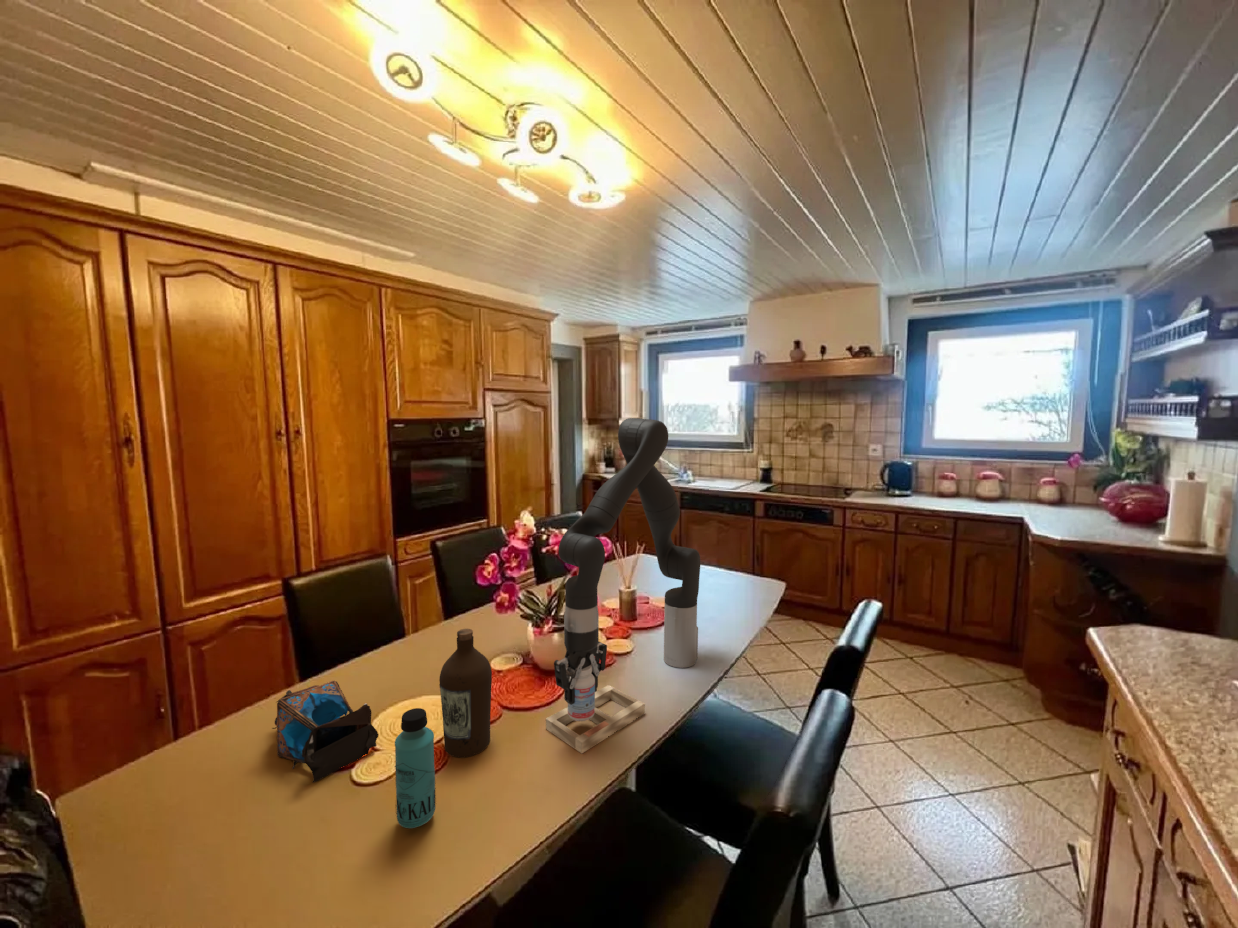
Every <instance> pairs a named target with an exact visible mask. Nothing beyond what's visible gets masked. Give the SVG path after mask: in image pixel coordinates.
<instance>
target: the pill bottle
mask: <svg viewBox="0 0 1238 928" xmlns="http://www.w3.org/2000/svg"><path fill="white" fill-rule="evenodd" d="M571 671H572V672H573V673H575V670H573V669H571ZM591 673H592V666H591V665H590V666H588V667H586V668H584V669H581V672H580V675H579V678H577V679H576V682H575V685H574V688H575V703H574V704H572V705H571V704H569V703H567V707H568V715H569V717H570V718H571V719H573V720H574V721H576V722H585V721H586V722H587V721H590V720H589V719H591V718H592V717H593V716H594V713H595V678H594V676H593V675H592V674H591ZM570 680H571V676H570V679H569V681H570Z"/></svg>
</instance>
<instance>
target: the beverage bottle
mask: <svg viewBox="0 0 1238 928" xmlns="http://www.w3.org/2000/svg"><path fill="white" fill-rule="evenodd" d="M427 724H428V717H427V711H426V710H425V709H424V708H421V707H417V708H410V709H408V710H406V711H405V712H403V713H402V715H401V723H400V729H401V732H400V733H399V734H398V735H397V737H396V738H395V741H394V747H395V748H394V749H395V751H394V752H395V758H394V759H395V765H394V770H395V779H394V780H395V782H394V786H395V792H396V793H395V800H394V801H395V802H394V803H396V805H395V808H396V812H395V815H396V821H397V823H398V824H399V826H401V827H403V828H406V829H415V828H417V827H421V826H423V825H425V824H427V823H428V822H429V821H430V820H431V819H432V818H433V816H434V814H435V811H436V793H437V792H436V791H437V787H436V769H435V745H434V744H435V743H434V742H435V739H434V738H435V733H434V731H433V730H431V729H430V728H429V727H427Z"/></svg>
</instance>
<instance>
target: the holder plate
mask: <svg viewBox="0 0 1238 928" xmlns="http://www.w3.org/2000/svg"><path fill="white" fill-rule="evenodd" d="M610 700H611V701H613V702H615V703H617V704H619V705H620V706H623V707H624V708H623V709H622V710H620V711H618V712H617V713H615V714H613V715H612V716H611V715H609V714H607V713H606V712H604V711H602V710H601V709H599V708H598V707H600V706H602V705H603V704H605V703H607V702H609V701H610ZM645 705H646V703H644V702H643V701H640V700H639V699H637V698H635V697H633V696H631V695H629V694H627V693H625V692H623V691H621V690H619V689H618V688H615V687H614V686H611V685H610V684H608V685H605V686H604V687H602V688H600V689H599V690H598V689H597V691H596V692H595V713H594V716H593V717H592V718H591V719H589V720H588V721H591V722H592V723H594V724H596V725H595V726H594V727H592V728H590V729H588V730H586V731H585V732H583V733H580V734H578V733H577V732H575V731H574V730H573V729H570V728H569V727H568V726H567V725H568V724H570V723H572V722H573V721H575V720H573V719H571V718H570V717H569V715H568V706H567V707H565V708H563V709H561V710H559V711H557V712H556V713H553V714H552V715H550V716H548V717H546V718H545V729H546V730H547V731H548V732H550V733H551V734H553V735H554V736H555V737H557V738H558V739H559V740H561V741H563V742H564V743H566V744H567V745H569V746H570V747H571V748H573V749H575V750H576V751H577V752H578V753H580V754H583V753H586V752H587V751H588V750H590V749H591V748H593V747H595V746H596V745H598V744H599V743H601V742H602V741H605V740H606V739H607V738H609V737H610V736H612V735H613V734H615V733H616V731H617V730H618V731H620V730H622V729H623V728H625V727H626V726H628V725H629V724H631V723H633V722H634V721H636V720H637V719H638V717H639V716H640V717H642V716H643V715H645V714H646V713H645V712H646V711H645V709H646V708H645V707H646V706H645ZM644 713H645V714H644ZM642 714H643V715H642ZM641 715H642V716H641ZM640 717H639V718H640ZM636 718H637V719H636ZM633 720H634V721H633ZM627 724H628V725H627ZM625 725H626V726H625ZM622 727H623V728H622ZM618 731H617V732H618ZM614 732H615V733H614ZM608 736H609V737H608Z"/></svg>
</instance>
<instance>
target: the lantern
mask: <svg viewBox="0 0 1238 928" xmlns="http://www.w3.org/2000/svg"><path fill="white" fill-rule="evenodd" d="M274 719H275V720H274V725H275V727H271V729H272V730H273V729H274V730H275V729H276V730H277V731H276V732H277V733H276V739H277V740H276V741H277V742H276V743H277V746H276V747H277V748H276V751H277V753H276V755H277V757H279V758H283V759H287V760H289V761H290V760H292V761H293V762H292V763H293V766H292V770H294V769H295V767H296V764H297V763H301V764H306V766H307V767H308V768H309V770H310V771H311V773H312V783H313V784H314V783H317V782H319V781H321V780H322V779H324V778H326V777H328V776H329V775H332V774H334V773H335V772H337V771H339V770H341V769H342V768H341V767H343V766H345V767H346V765H347V766H349V765H350V764H352V763H354V762H356V761H358V760H360V759H362V758H363V757H362V756H363V755H365V754H369V751H370V749H372V748H374V747H377V740H378V739H379V732H378V731H377V729H376V727H374V726H373V724H372V710H371V706H369V705H368V703H364V704H363V705H362V706H361V707H359V708H358V709H357V710H353V709H352V708H351V706H350V704H349V701H348V700H347V697H346V696H345V695H344V692H343V691H342V689H341V687H340V684H339V682H338V681H335V680H331V681H329V682H326V683H323V684H320V685H317V684H316V685H315V684H314V685H312V686H309V687H307V688H303V689H300V690H297V691H293V692H292V690H291V689H288V690H287V691H286V693H285V694H284V695H283V696H282V697H281V698H279V699H278V700H277V701H276V718H274ZM361 757H362V758H361ZM359 758H360V759H359ZM357 759H358V760H357ZM348 764H349V765H348ZM340 768H341V769H340ZM343 768H344V767H343Z"/></svg>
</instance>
